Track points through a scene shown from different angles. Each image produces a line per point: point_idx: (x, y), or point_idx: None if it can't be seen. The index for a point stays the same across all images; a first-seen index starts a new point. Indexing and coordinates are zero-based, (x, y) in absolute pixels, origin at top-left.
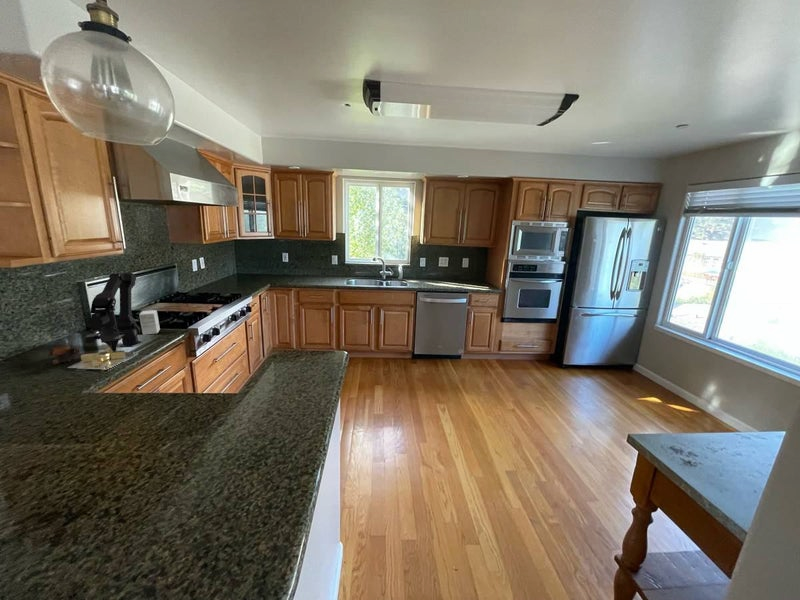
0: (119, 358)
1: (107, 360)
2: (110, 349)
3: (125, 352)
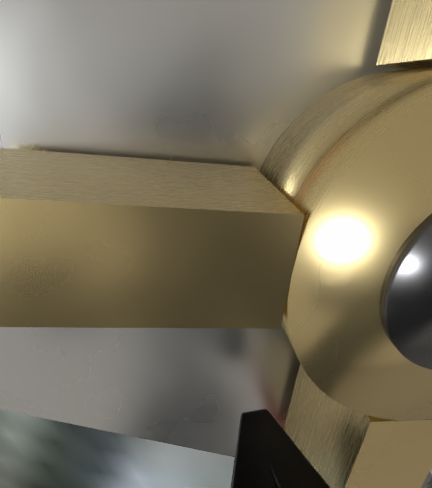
0: None
1: None
2: (336, 478)
3: (122, 424)
